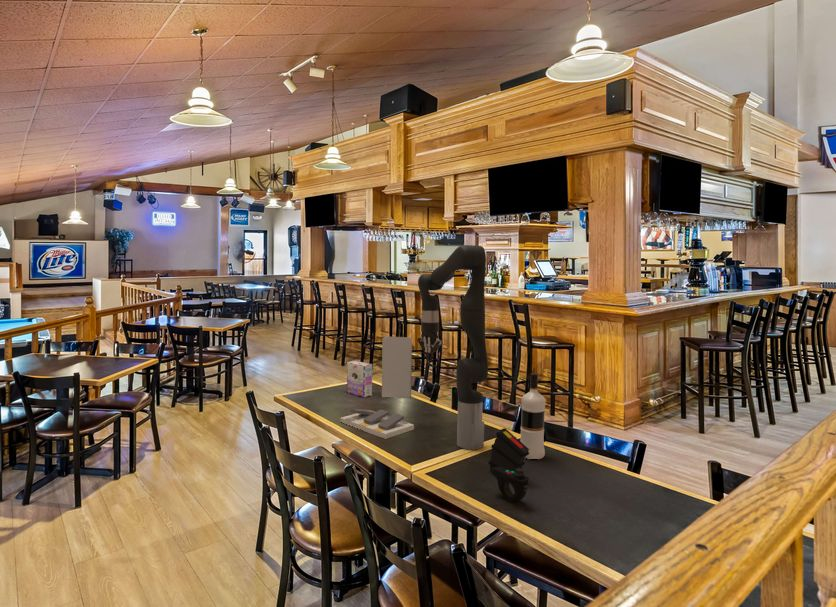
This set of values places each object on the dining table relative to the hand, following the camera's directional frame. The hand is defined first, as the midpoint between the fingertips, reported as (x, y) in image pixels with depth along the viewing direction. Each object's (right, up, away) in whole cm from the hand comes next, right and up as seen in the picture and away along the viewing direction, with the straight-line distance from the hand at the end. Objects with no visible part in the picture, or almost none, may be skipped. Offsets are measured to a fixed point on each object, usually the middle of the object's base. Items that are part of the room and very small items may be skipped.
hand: (429, 360), depth 222 cm
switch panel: (-22, -27, -6) cm, 35 cm away
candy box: (-35, -22, +43) cm, 60 cm away
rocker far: (-29, -23, 0) cm, 37 cm away
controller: (+22, -33, -69) cm, 80 cm away
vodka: (+36, -30, -36) cm, 59 cm away
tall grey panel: (-16, -23, +40) cm, 49 cm away
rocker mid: (-22, -23, -6) cm, 33 cm away
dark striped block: (+24, -32, -54) cm, 67 cm away
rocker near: (-16, -24, -12) cm, 31 cm away
